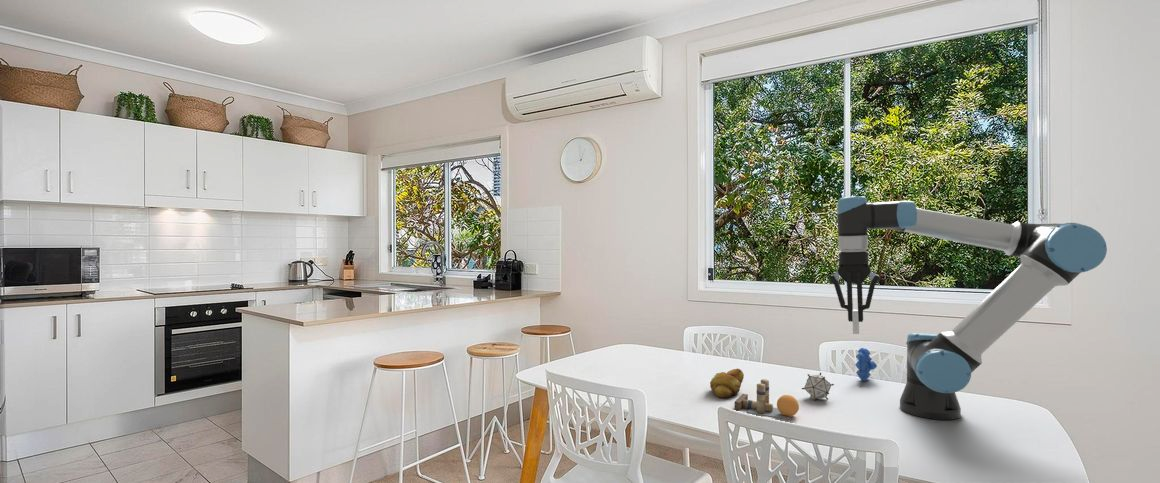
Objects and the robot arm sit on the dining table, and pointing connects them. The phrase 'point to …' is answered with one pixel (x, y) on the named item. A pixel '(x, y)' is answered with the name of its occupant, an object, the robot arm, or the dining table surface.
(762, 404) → the pin
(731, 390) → the bread roll
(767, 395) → the pin
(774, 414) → the pin deck
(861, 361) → the grapes
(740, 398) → the backstop
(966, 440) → the dining table surface
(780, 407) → the ball
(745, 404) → the front pin
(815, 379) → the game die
